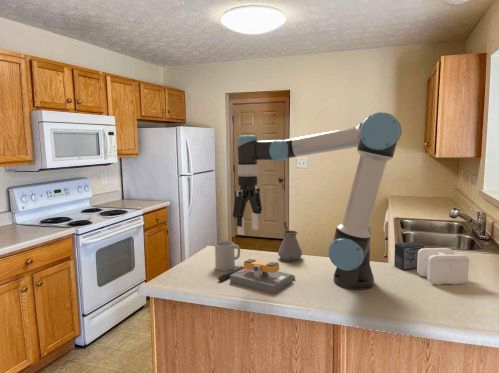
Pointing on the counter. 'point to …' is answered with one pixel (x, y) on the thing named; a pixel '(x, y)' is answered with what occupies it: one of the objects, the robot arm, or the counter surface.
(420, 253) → the cable organizer
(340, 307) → the counter surface
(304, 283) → the counter surface
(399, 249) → the small box
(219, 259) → the mug
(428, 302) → the counter surface
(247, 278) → the panel
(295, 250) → the coffee pot
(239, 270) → the black rounded bar
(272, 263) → the lever
